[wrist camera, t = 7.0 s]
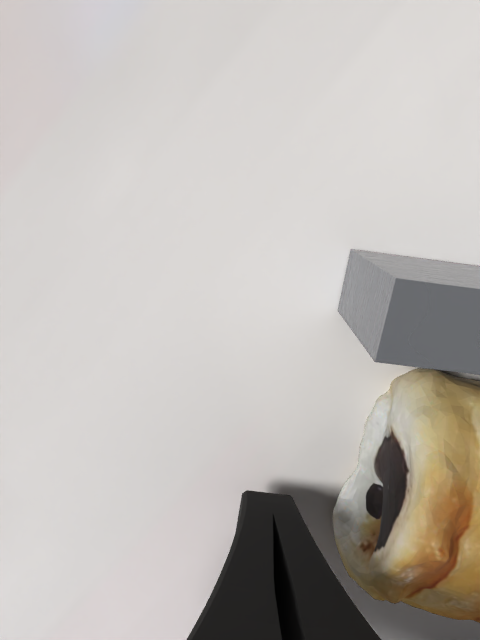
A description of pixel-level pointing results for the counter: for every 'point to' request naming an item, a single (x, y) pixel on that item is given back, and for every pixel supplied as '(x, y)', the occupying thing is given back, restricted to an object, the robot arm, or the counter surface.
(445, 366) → the grey tray
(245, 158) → the counter surface
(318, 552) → the robot arm
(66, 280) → the counter surface
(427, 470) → the pastry
